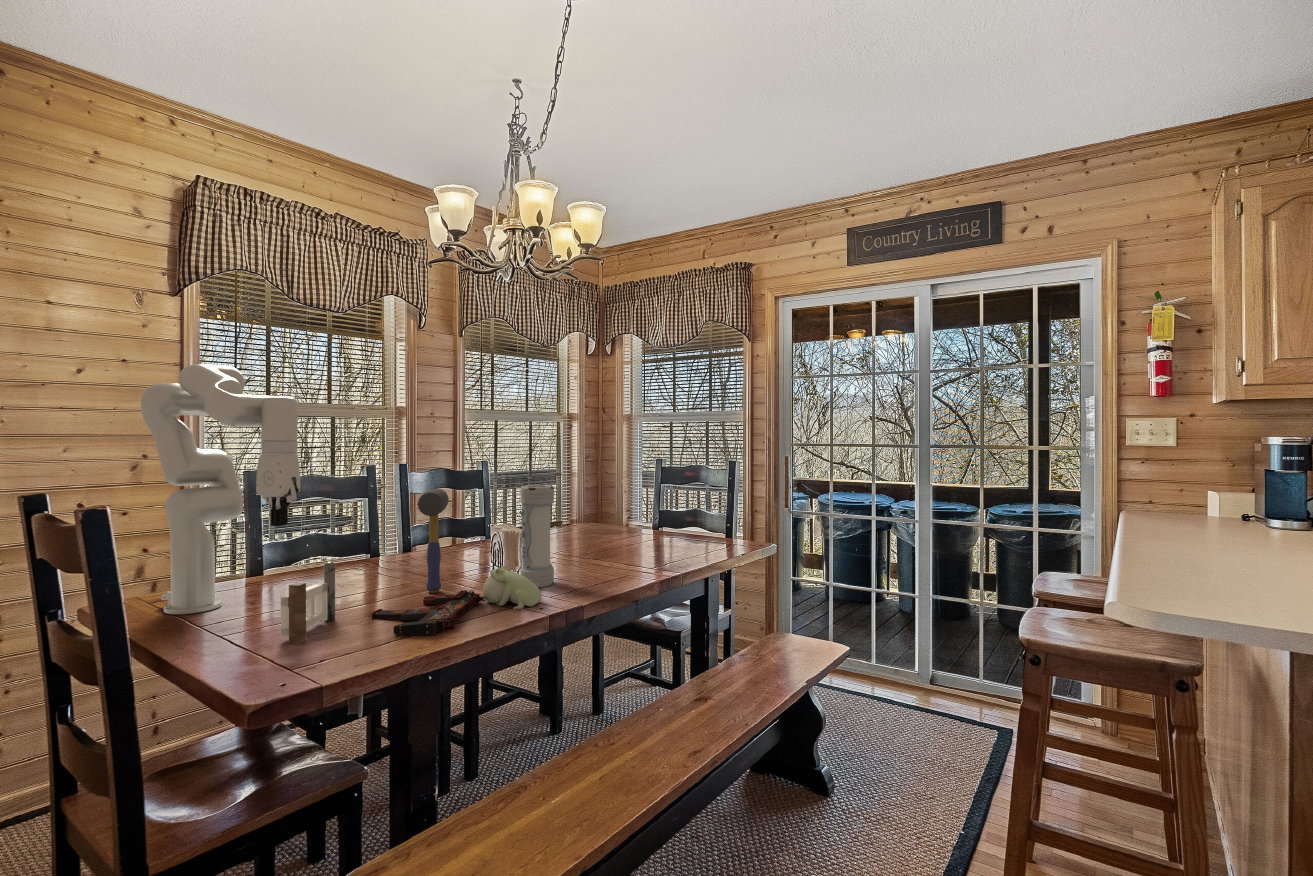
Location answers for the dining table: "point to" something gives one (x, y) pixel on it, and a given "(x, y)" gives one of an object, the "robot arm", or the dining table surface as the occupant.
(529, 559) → the canister
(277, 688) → the dining table surface
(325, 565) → the hinge post
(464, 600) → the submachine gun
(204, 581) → the robot arm
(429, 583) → the rubber mallet
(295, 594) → the post
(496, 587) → the figurine
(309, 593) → the gate
